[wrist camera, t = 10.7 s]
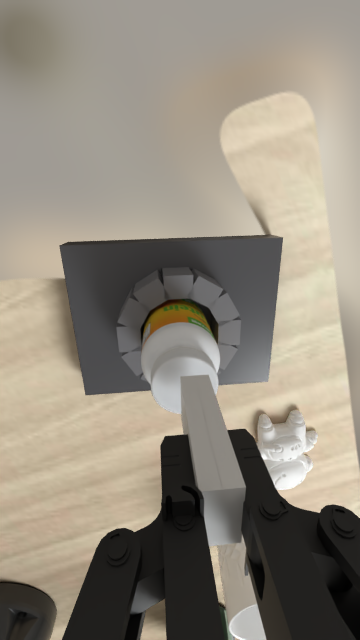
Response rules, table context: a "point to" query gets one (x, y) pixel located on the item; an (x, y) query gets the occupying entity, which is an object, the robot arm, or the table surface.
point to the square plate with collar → (171, 283)
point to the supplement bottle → (177, 350)
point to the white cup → (239, 593)
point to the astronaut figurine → (286, 449)
